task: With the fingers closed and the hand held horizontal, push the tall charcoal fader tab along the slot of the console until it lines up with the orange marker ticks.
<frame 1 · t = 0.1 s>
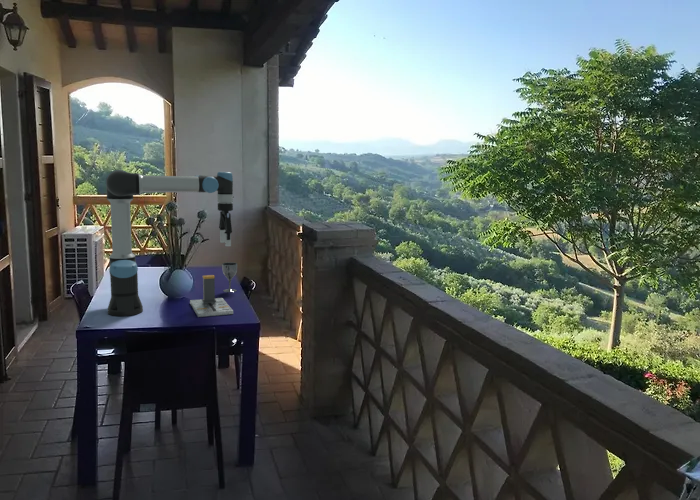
hand: (225, 244, 291), 28 cm above the table, tool pointing down, fingers open, 13 cm apart
console: (210, 308, 273), on the table
fader: (208, 288, 277), point 9 cm above the table, slide at 0.0 cm
wine glass: (229, 291, 310), on the table
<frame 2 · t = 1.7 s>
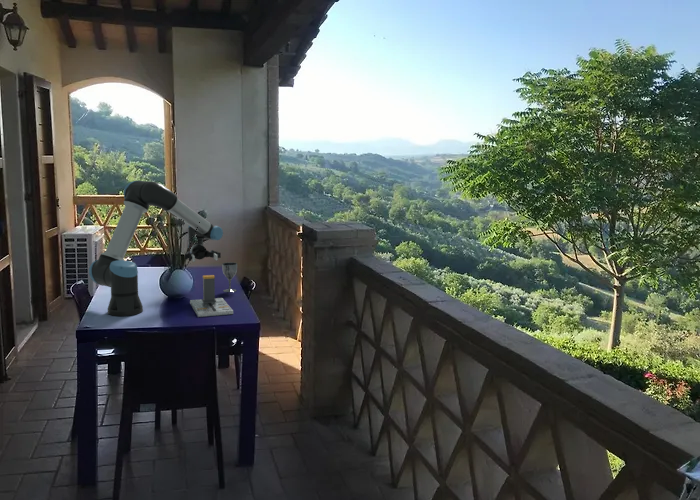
hand: (205, 258, 282), 22 cm above the table, tool horizontal, fingers open, 10 cm apart
nothing on the table moved.
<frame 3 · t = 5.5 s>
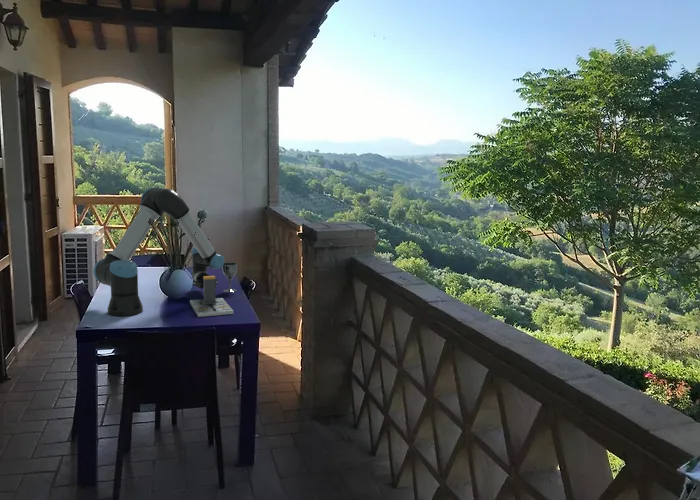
hand: (211, 289, 277), 8 cm above the table, tool horizontal, fingers closed
fader: (209, 289, 275), point 9 cm above the table, slide at 1.7 cm, touching gripper
everything else where it was.
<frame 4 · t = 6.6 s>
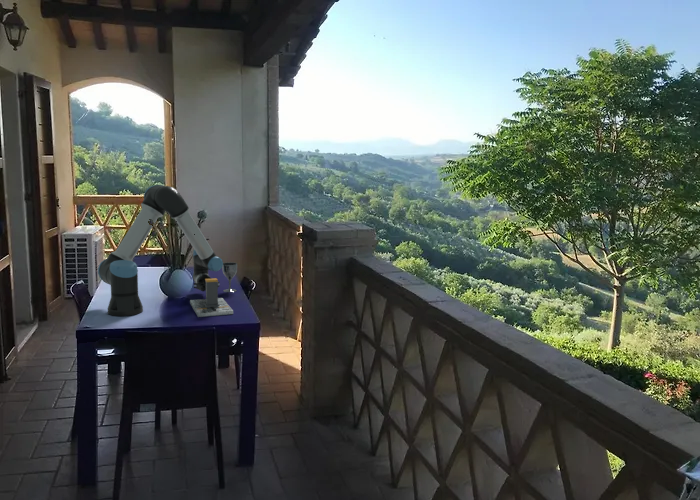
hand: (212, 291, 271), 8 cm above the table, tool horizontal, fingers closed
fader: (211, 292, 269), point 9 cm above the table, slide at 7.8 cm, touching gripper
everything else where it was.
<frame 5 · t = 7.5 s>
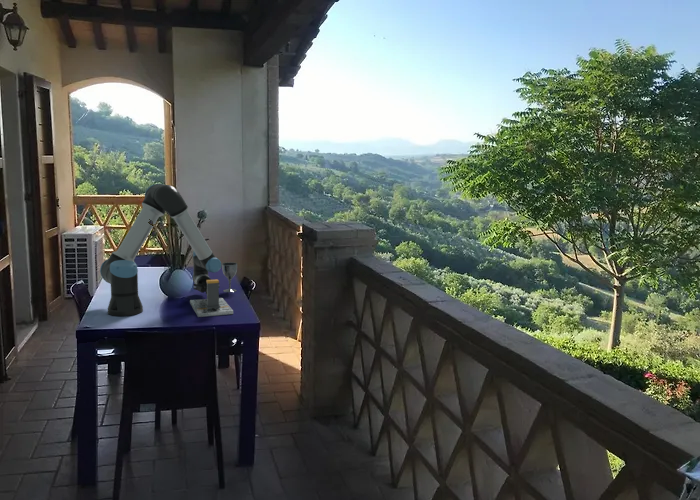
hand: (212, 293, 269), 8 cm above the table, tool horizontal, fingers closed
fader: (212, 293, 267), point 9 cm above the table, slide at 10.6 cm, touching gripper
everything else where it was.
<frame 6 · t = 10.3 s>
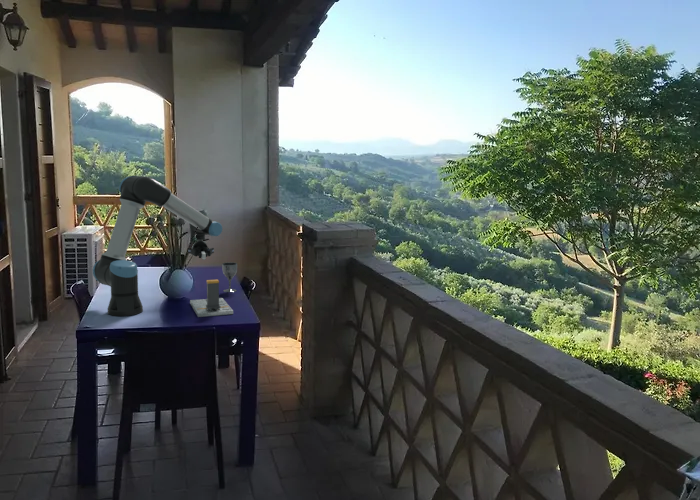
hand: (204, 256, 274), 24 cm above the table, tool horizontal, fingers closed
fader: (212, 293, 267), point 9 cm above the table, slide at 10.9 cm
everything else where it was.
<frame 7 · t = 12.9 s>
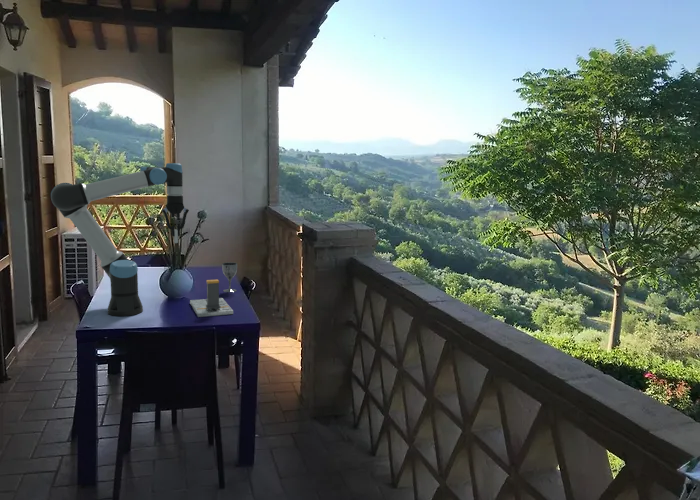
hand: (176, 242, 283), 29 cm above the table, tool pointing down, fingers closed
nothing on the table moved.
at the end: fader slide at 10.9 cm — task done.
